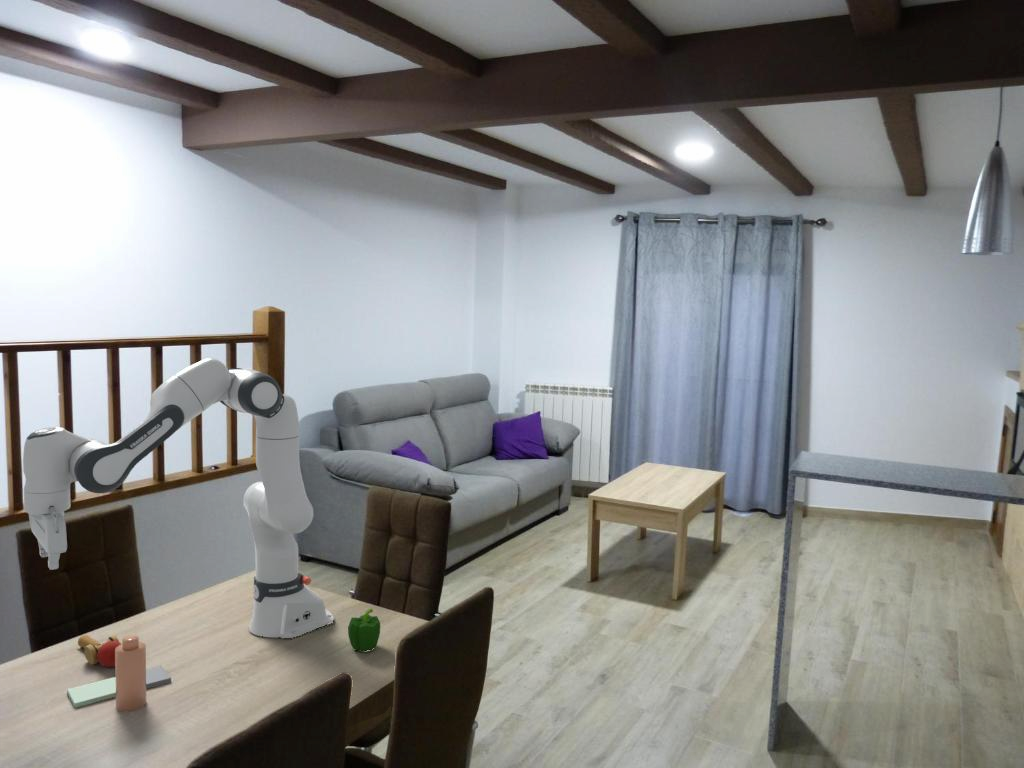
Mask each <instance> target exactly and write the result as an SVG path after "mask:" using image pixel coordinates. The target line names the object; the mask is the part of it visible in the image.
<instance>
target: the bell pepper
mask: <svg viewBox="0 0 1024 768" xmlns="http://www.w3.org/2000/svg"><path fill="white" fill-rule="evenodd" d="M373 612H374V609H372V608H369V609H367V610H366V611H365V613H364V614H363V615H360V616H358V617H351V618H350V620H349V623H348V626H347V635H348V638H349V643H350V646H351V647H352V650H354V649H355V650H361V651H367V650H372V649H373V648H375V647H376V648H377V645H378V641H379V638H380V635H381V622H380V620H379V618H378V615H376V616H375V615H373V616H372V615H370V613H373ZM376 648H375V649H376ZM355 650H354V651H355ZM361 651H360V652H361Z"/></svg>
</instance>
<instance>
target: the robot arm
mask: <svg viewBox="0 0 1024 768" xmlns="http://www.w3.org/2000/svg"><path fill="white" fill-rule="evenodd" d="M149 403H150V411H149V413H148V415H147V416H146V418H145V419H144V420H143V421H142V422H141V423H139V424H138V425H137V426H136V427H134V428H133V429H132V430H130V431H129V432H128V433H127V434H125V435H124V436H122V437H121V438H120V439H118V440H117V441H115V442H113V443H110V444H106V443H104V442H103V441H101V440H99V439H95V438H89V437H85V436H81V435H77V434H76V433H73V432H71V431H69V430H67V429H66V428H64V427H61V426H54V427H52V426H49V427H45V428H41V429H37V430H35V431H34V432H31V433H30V434H29V435H28V436H26V439H25V441H24V445H23V456H22V457H23V459H22V463H23V464H22V466H23V467H22V469H23V470H22V471H23V474H24V477H25V482H24V483H25V484H24V485H23V486H24V488H23V504H24V505H23V506H24V509H23V511H24V512H25V513H27V514H28V519H29V527H30V529H31V533H33V535H34V536H35V538H36V539H37V543H38V548H39V550H38V551H39V555H40V557H41V558H47V557H48V559H47V567H48V568H49V570H50V571H51V570H58V569H59V567H60V566H59V565H60V564H59V560H60V557H61V554H63V553H66V552H67V549H68V541H67V540H68V539H67V524H66V520H65V517H64V516H65V511H67V510H69V509H71V484H72V483H76V482H78V483H79V485H80V486H81V487H82V488H84V489H85V490H86V491H87V492H91V493H94V494H106V493H111V492H112V491H114V490H116V489H117V488H119V487H120V486H122V485H123V484H124V482H125V481H126V480H127V478H128V476H129V475H130V473H131V472H132V470H133V468H135V466H136V465H137V464H139V463H140V462H141V461H142V460H143V459H144V458H146V457H147V456H148V455H149V454H150V453H152V452H153V451H155V450H156V449H157V448H158V447H159V446H161V445H162V444H163V443H165V441H166V440H168V439H169V438H170V437H171V436H172V435H174V433H176V432H177V431H178V430H179V429H181V428H182V427H183V426H184V425H186V424H187V423H189V422H191V420H194V419H195V418H196V417H198V416H199V415H201V414H202V413H203V412H205V411H206V410H207V409H208V408H210V407H211V406H213V405H215V404H217V403H221V404H222V405H224V406H225V407H227V408H230V409H232V410H234V411H235V412H239V413H245V414H250V415H252V416H253V418H254V420H255V465H256V469H257V471H258V472H259V475H260V479H261V481H257V482H254V483H252V484H251V485H249V486H248V488H246V491H245V492H244V494H243V500H242V504H243V506H244V508H245V510H246V513H247V516H248V519H249V524H250V528H251V533H252V537H253V539H252V540H253V544H254V551H255V552H254V553H255V554H254V555H255V559H254V560H255V561H254V562H255V576H254V577H253V585H252V586H253V591H252V593H253V599H254V600H253V610H252V615H251V620H250V622H249V626H248V631H249V632H250V633H251V634H252V635H255V636H258V637H262V636H263V637H262V638H278V637H281V639H284V638H292V637H295V636H298V635H300V636H302V635H301V634H303V633H305V632H308V633H310V632H309V631H311V630H313V629H315V628H319V627H321V626H323V625H326V624H328V623H330V622H333V620H334V621H335V618H334V615H333V614H332V612H331V611H329V610H328V609H326V605H325V602H324V599H323V598H322V597H321V595H319V594H318V593H317V592H315V591H313V590H312V589H311V588H309V587H307V586H309V585H311V583H312V578H311V577H308V576H307V575H304V574H302V573H299V546H298V544H297V541H296V539H295V536H294V534H299V533H302V532H303V531H304V532H305V530H306V529H308V527H309V526H310V524H311V523H312V521H313V519H314V507H313V505H312V503H311V501H310V500H309V497H308V496H307V492H306V488H305V485H304V484H305V483H304V480H303V476H302V471H301V464H300V422H299V414H298V408H297V403H296V401H295V399H294V398H292V397H291V396H290V395H287V394H285V393H283V392H282V390H281V387H280V385H279V384H278V382H277V381H276V379H275V378H274V377H272V376H270V375H269V374H268V373H265V372H261V371H258V370H254V369H251V368H250V369H249V368H247V369H246V368H245V369H244V368H240V367H233V368H228V366H227V365H225V364H224V363H223V362H222V361H220V360H219V359H216V358H211V357H209V358H208V357H207V358H205V359H202V360H200V361H198V362H195V363H193V364H191V365H189V366H187V367H185V368H184V369H182V370H180V371H178V372H177V373H175V374H174V375H172V376H170V377H169V378H168V379H167V380H164V381H163V383H161V384H160V385H159V386H158V387H157V388H156V389H155V390H154V391H153V392H152V394H151V397H150V402H149ZM329 617H330V618H329ZM319 629H320V628H319ZM311 632H312V631H311ZM303 635H304V634H303ZM298 637H299V636H298ZM295 638H296V637H295ZM292 639H293V638H292Z"/></svg>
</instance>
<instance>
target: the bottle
mask: <svg viewBox="0 0 1024 768" xmlns="http://www.w3.org/2000/svg"><path fill="white" fill-rule="evenodd" d="M121 641H122V642H121V645H119V646H118V647H116V649H115V666H114V667H115V672H114V673H115V677H116V697H115V709H116V708H117V709H118V711H119V710H120V711H121V712H125V711H127V712H134V711H137V710H139V709H142V708H143V707H144V706H145V705H146V704H147V688H146V669H147V646H146V643H145V642H141V641H139V636H137V635H129V636H125V637H123V638H122V639H121ZM117 709H116V710H117ZM120 711H119V712H120Z"/></svg>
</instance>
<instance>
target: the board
mask: <svg viewBox="0 0 1024 768" xmlns="http://www.w3.org/2000/svg"><path fill="white" fill-rule="evenodd" d="M171 682H172V677H171V676H170V674H169V673H168V672H167V671H166V669H165V668H164V667H163V666H162V665H161V664H160V665H157V666H152V667H150V668H146V689H149V688H152V687H153V688H154V687H158V686H161V685H163V684H168V683H171ZM66 694H67V696H68V698H69V700H70V699H71V700H70V701H72V702H71V704H72V705H73V707H74V709H75V708H79V707H83V706H87V705H90V704H94V702H95V703H97V701H98V702H101V701H100V700H102V701H104V700H105V699H106V700H109V699H112V697H113V698H116V676H114V677H110V678H107V679H102V680H98V681H94V682H91V683H87V684H86V683H85V684H82V685H79V686H74V687H70V688H67V689H66ZM108 698H109V699H108Z"/></svg>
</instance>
